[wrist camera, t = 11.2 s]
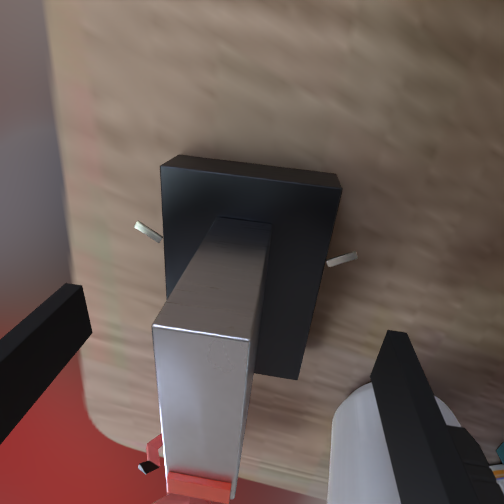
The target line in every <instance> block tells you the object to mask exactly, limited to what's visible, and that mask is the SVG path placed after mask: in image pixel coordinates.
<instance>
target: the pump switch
mask: <svg viewBox="0 0 504 504" xmlns="http://www.w3.org/2000/svg"><path fill="white" fill-rule="evenodd" d="M496 452H497V454H498V456H499V457H500V459H501V461H502V463H503V465H504V442H503V443H502V444H501V446H500V447H499V448H498V449H497V450H496Z"/></svg>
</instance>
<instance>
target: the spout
mask: <svg viewBox="0 0 504 504" xmlns="http://www.w3.org/2000/svg"><path fill="white" fill-rule="evenodd" d="M271 232H272V224H268V223H260V222H252V221H244V220H236V219H228V218H220V217H217V218H216V220H215V221H214V223H213V225H212V226H211V228H210V230H209V231H208V233H207V235H206V236H205V238H204V240H203V241H202V243H201V245H200V246H199V248H198V250H197V251H196V253H195V254H194V256H193V258H192V259H191V261H190V263H189V264H188V266H187V268H186V269H185V271H184V273H183V274H182V276H181V278H180V279H179V281H178V283H177V284H176V286H175V288H174V289H173V291H172V293H171V294H170V296H169V298H168V299H167V301H166V302H165V304H164V306H163V307H162V309H161V311H160V312H159V314H158V316H157V317H156V319H155V321H154V322H153V324H152V336H153V346H154V357H155V367H156V378H157V388H158V398H159V409H160V419H161V429H162V440H163V450H164V460H165V470H166V481H167V489H168V493H174V494H179V495H184V496H189V497H194V498H199V499H205V500H210V501H215V502H220V503H225V504H229V503H230V499H234V497H235V492H236V486H237V479H238V473H239V466H240V460H241V453H242V447H243V440H244V434H245V427H246V420H247V414H248V407H249V401H250V394H251V388H252V381H253V375H254V368H255V362H256V355H257V348H258V340H259V332H260V324H261V315H262V307H263V299H264V290H265V282H266V274H267V265H268V257H269V249H270V241H271Z"/></svg>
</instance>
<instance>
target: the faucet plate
mask: <svg viewBox="0 0 504 504" xmlns="http://www.w3.org/2000/svg"><path fill="white" fill-rule="evenodd" d="M160 177H161V196H162V216H163V236H164V256H165V276H166V296H167V299H168V298H169V296H170V294H171V293H172V291H173V289H174V288H175V286H176V284H177V283H178V281H179V279H180V278H181V276H182V274H183V273H184V271H185V269H186V268H187V266H188V264H189V263H190V261H191V259H192V258H193V256H194V254H195V253H196V251H197V250H198V248H199V246H200V245H201V243H202V241H203V240H204V238H205V236H206V235H207V233H208V231H209V230H210V228H211V226H212V225H213V223H214V221H215V220H216V218H217V217H220V218H228V219H236V220H244V221H252V222H260V223H268V224H272V232H271V241H270V249H269V257H268V265H267V274H266V282H265V290H264V299H263V307H262V315H261V324H260V332H259V340H258V348H257V355H256V362H255V368H254V373H256V374H262V375H268V376H274V377H280V378H286V379H292V380H298V376H299V372H300V368H301V364H302V359H303V355H304V351H305V347H306V342H307V338H308V334H309V330H310V325H311V321H312V317H313V313H314V308H315V304H316V300H317V296H318V291H319V287H320V283H321V279H322V274H323V270H324V266H325V262H327V265H328V267H332V266H335V265H338V264H341V263H345V262H348V261H351V260H354V259H358V257H357V254H356V251H352V252H349V253H346V254H343V255H340V256H337V257H334V258H330V259H327V260H326V257H327V253H328V249H329V245H330V240H331V236H332V232H333V228H334V223H335V219H336V215H337V211H338V206H339V202H340V198H341V194H342V187H341V184H340V182H339V179H338V177H337V175H336V174H334V173H326V172H317V171H309V170H301V169H293V168H285V167H276V166H268V165H260V164H252V163H244V162H235V161H227V160H219V159H211V158H203V157H194V156H186V155H177V156H176V157H174V158H172V159H171V160H169V161H167V162H166V163H164V164H162V165H161V166H160ZM134 227H135V228H136V229H138V230H139V231H141V232H142V233H144V234H146V235H147V236H149V237H150V238H152V239H153V240H155V241H156V242H158V243H160V241H161V240H162V238H163V236H161V235H159V234H158V233H156V232H155V231H153V230H152V229H150V228H149V227H147V226H146V225H144V224H143V223H141V222H140V221H137V223H136V224H135V226H134Z"/></svg>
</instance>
